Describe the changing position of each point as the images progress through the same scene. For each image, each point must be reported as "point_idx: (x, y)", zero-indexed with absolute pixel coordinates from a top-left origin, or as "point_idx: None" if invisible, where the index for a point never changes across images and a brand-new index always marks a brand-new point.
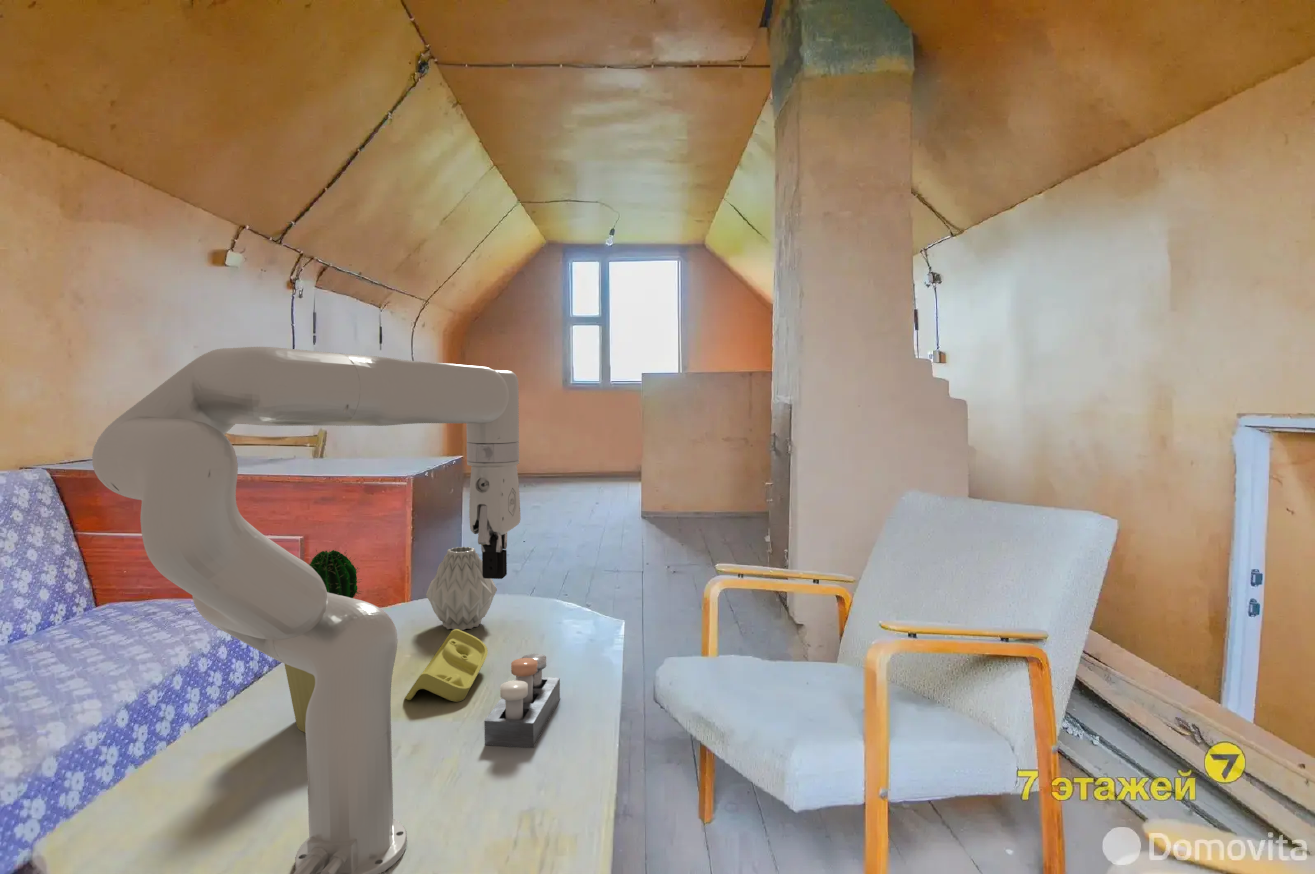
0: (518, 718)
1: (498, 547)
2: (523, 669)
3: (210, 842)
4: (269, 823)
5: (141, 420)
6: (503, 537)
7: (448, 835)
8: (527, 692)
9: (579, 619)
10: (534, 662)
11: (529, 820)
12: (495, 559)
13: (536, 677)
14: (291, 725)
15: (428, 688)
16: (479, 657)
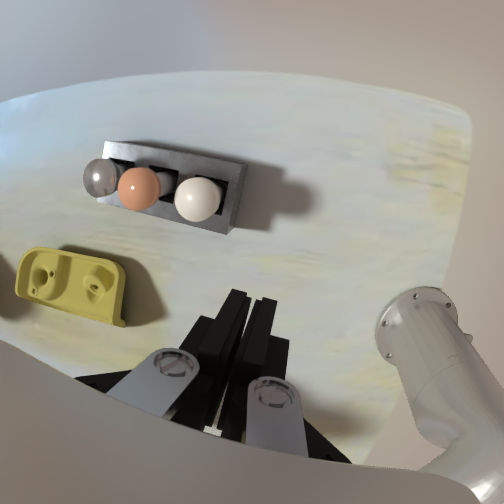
0: (218, 187)
1: (301, 413)
2: (156, 188)
3: (364, 420)
4: (351, 396)
5: None
6: (169, 410)
7: (414, 251)
8: (201, 177)
9: None
10: (135, 172)
11: (406, 170)
12: (283, 378)
13: (120, 171)
14: None
15: (120, 308)
16: (44, 255)
